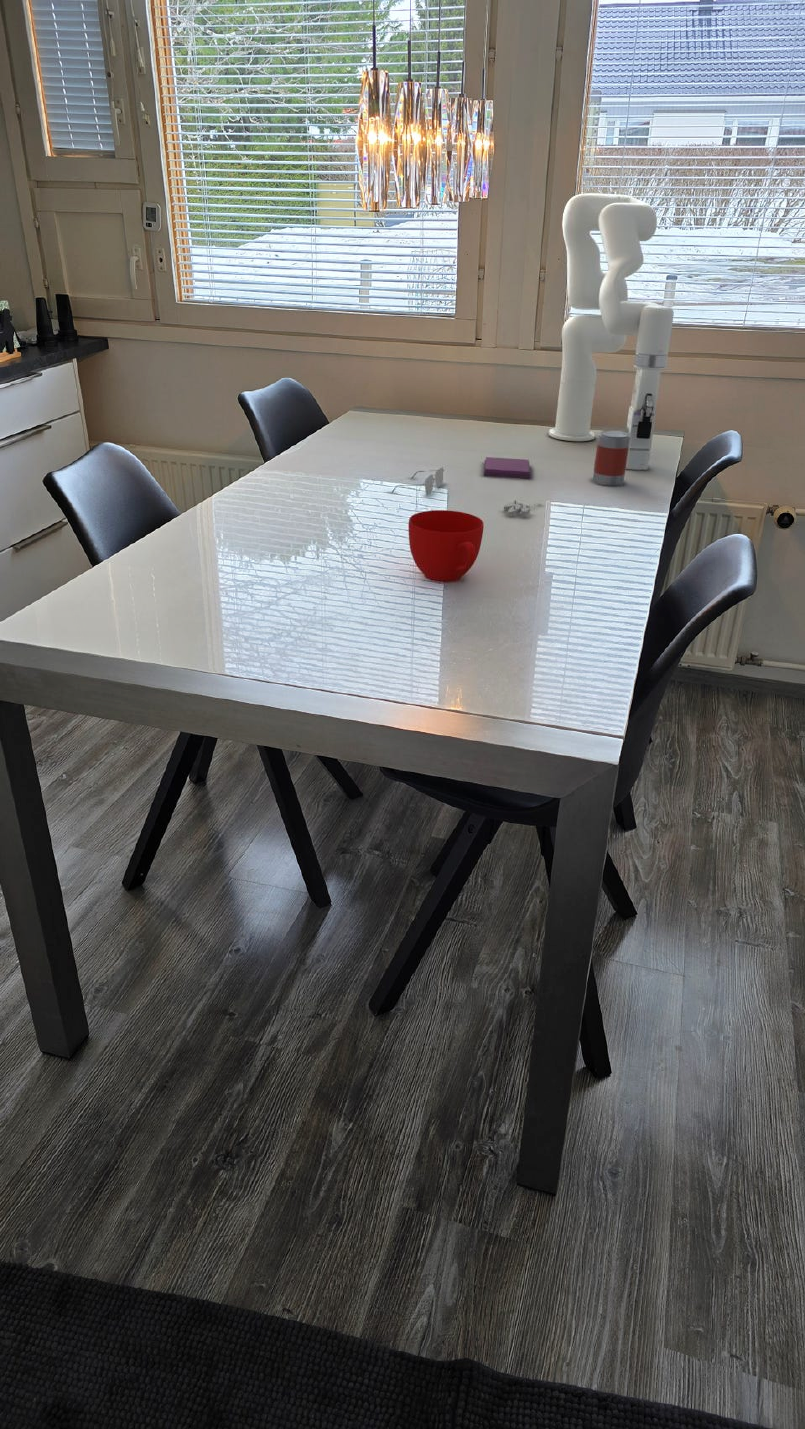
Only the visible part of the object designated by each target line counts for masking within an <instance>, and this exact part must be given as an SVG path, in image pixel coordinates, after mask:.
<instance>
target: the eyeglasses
mask: <svg viewBox="0 0 805 1429" xmlns="http://www.w3.org/2000/svg"><path fill="white" fill-rule="evenodd" d="M422 472H423V473H424V472H425V470H419V471H416V472H415V473H414V474H413V476H412V477H411V479H414V477H415V476H416V474H418V473H422ZM430 472H435V473H434V474H430V475H429V476H428V477H427V478H426V479H425V480H424V483H422V484H421V483H420V484H419V483H418V484H417V483H416V484H415V486H424V490H425V495H426V496H430V495H431V493H432V492H433V488H434V484H435V486H436V487H437V488H440V487H441V486H442V485H443V482H444V472H445V469H444V467H440V468H438V469H434V470H430ZM408 486H414V484H402V485H401V484H399V485H396V486H395V487H394V488H393V489H392V491H391V493H393V492H395V490H396V488H397V487H408Z"/></svg>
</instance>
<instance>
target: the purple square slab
mask: <svg viewBox="0 0 805 1429" xmlns="http://www.w3.org/2000/svg"><path fill="white" fill-rule="evenodd" d="M483 477H496V478H507V479H509V478H510V479H523V480H524V479H525V480H530V479H531V466H530V460H529V459H525V458H524V459H522V458H510V457H509V458H507V457H494V456H485V459H484V466H483Z"/></svg>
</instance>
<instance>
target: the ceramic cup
mask: <svg viewBox="0 0 805 1429" xmlns="http://www.w3.org/2000/svg"><path fill="white" fill-rule="evenodd" d="M484 526H485V525H484V521H483V520H482V519H481V518H480V517H478V516H476V515H473V514H471V513H467V512H462V511H458V510H448V509H447V510H445V509H439V510H438V509H437V510H436V509H434V510H425V511H420V512H417V513H414V514H412V515H411V516H410V517H409V519H408V544H409V550H410V554H411V556H412V559H413V562H414V564H415V565H416V567H417V568H418V570H419V571H420V573H422V575H423V576H424V578H425V579H427V580H429V581H432V582H435V583H455V582H458V581H459V580H461V579H462V577H464V576H465V575H466V574H467V573H468V572H469V571H470V570H471V569H472V567H473V565H474V564H475V562H476V560H477V558H478V556H479V553H480V550H481V545H482V541H483V535H484V528H485V527H484Z"/></svg>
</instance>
